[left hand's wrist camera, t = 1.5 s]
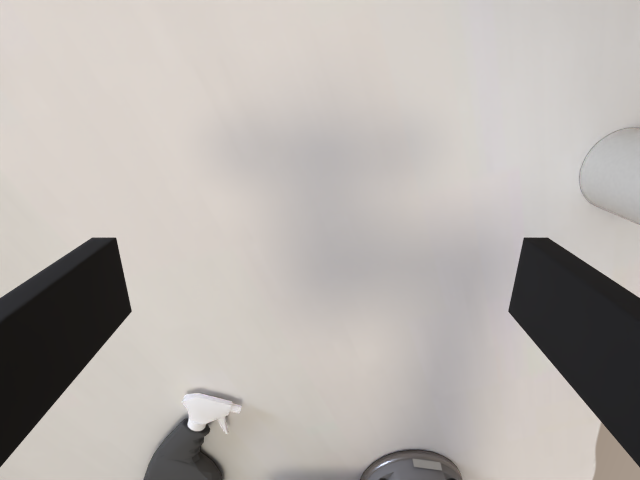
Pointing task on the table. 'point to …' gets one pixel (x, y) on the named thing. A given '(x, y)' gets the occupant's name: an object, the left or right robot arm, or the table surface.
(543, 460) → the table surface
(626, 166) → the bottle
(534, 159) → the table surface
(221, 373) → the table surface
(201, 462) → the spray bottle
